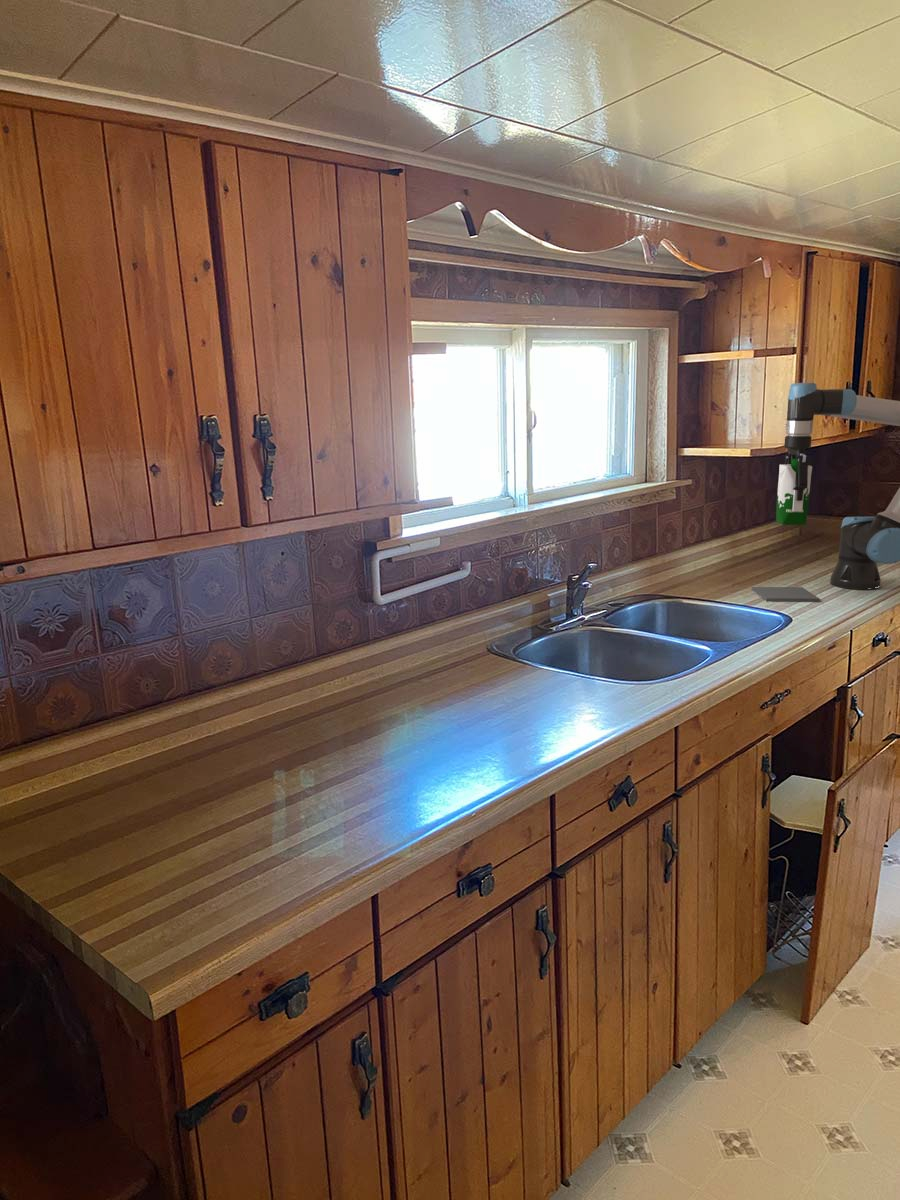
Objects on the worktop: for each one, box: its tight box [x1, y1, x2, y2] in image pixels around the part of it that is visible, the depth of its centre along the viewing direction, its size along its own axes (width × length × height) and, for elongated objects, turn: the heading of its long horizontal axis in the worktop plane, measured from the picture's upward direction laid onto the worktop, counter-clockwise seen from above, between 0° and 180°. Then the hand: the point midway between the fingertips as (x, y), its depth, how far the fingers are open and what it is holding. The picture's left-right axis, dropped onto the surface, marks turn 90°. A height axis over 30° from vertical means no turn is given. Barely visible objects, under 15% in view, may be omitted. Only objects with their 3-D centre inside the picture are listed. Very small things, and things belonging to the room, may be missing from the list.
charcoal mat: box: [751, 586, 821, 603], centre depth 266 cm, size 16×16×1 cm
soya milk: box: [775, 459, 813, 526], centre depth 258 cm, size 9×9×20 cm
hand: (792, 509), depth 259 cm, fingers closed on soya milk, 9 cm apart
